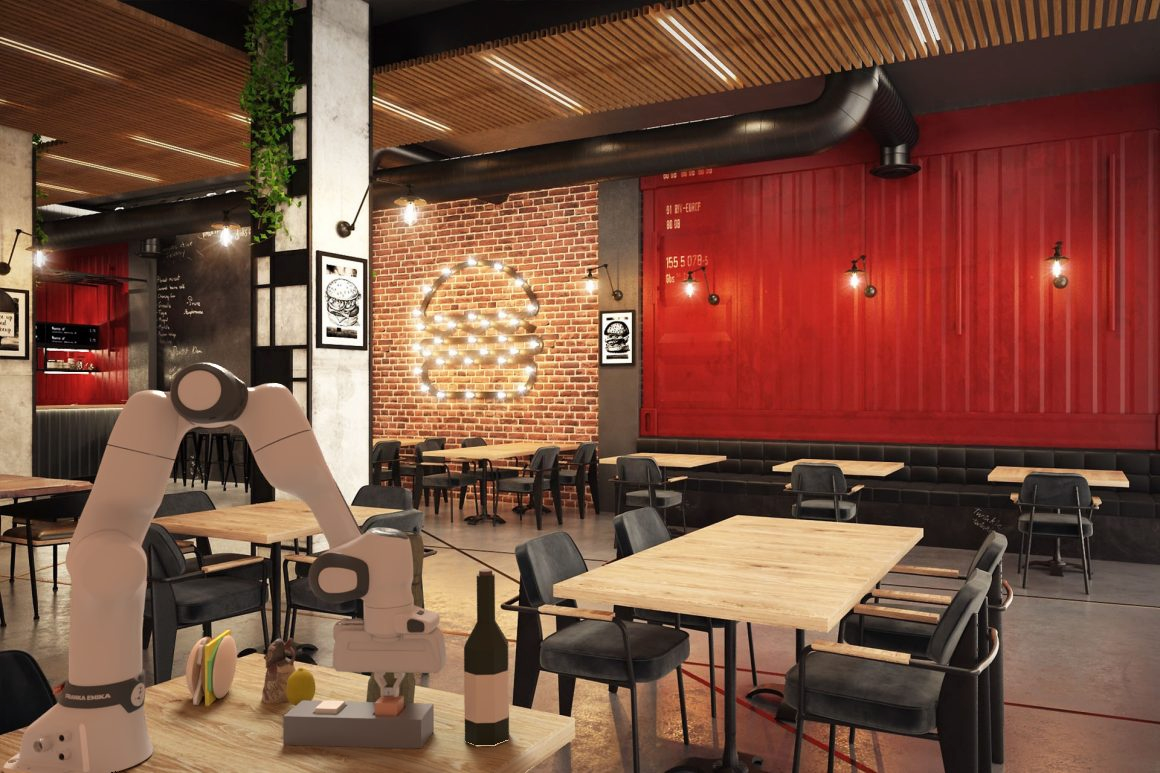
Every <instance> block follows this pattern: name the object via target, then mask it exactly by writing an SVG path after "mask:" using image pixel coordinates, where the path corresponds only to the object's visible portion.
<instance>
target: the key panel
mask: <svg viewBox="0 0 1160 773" xmlns="http://www.w3.org/2000/svg"><path fill="white" fill-rule="evenodd" d="M323 701H324V700H311V701H305V700H302V701H301V702H300V703H299V704H297V705H296V706H294V707H292V708H291V709H290V710H289V711H288V712H286V713H285V714H284V715H283V717H282V721H283V722H282V724H283V726H282V728H283V729H282V730H283V736H282V738H283V743H282V745H287V746H288V745H289V746H315V747H316V746H317V747H319V746H320V747H351V748H352V747H353V748H354V747H355V748H379V749H380V748H381V749H382V748H384V749H385V748H387V749H412V748H423V747H424V746H425V745H426V743H427V741H428V740H429V739H428V738H430V737H431V736H432V735H433V733H434V732H433V731H434V730H435V728H434V727H435V726H434V724H435V723H434V722H435V721H434V718H435V717H434V716H435V715H434V713H435V712H434V703H425V702H424V703H421V702H420V703H415V702H414V703H404V710H403V711H402V712H401V713H400V714H399V716H386V715H375V702H366V701H345V708H344V709H343V710H342V711H341V712H340V713H339V714H315V708H316V707H317V706H318V705H319V704H321V703H322V702H323ZM432 732H433V733H432ZM430 735H431V736H430ZM429 736H430V737H429ZM425 742H426V743H425ZM423 745H424V746H423Z"/></svg>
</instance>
